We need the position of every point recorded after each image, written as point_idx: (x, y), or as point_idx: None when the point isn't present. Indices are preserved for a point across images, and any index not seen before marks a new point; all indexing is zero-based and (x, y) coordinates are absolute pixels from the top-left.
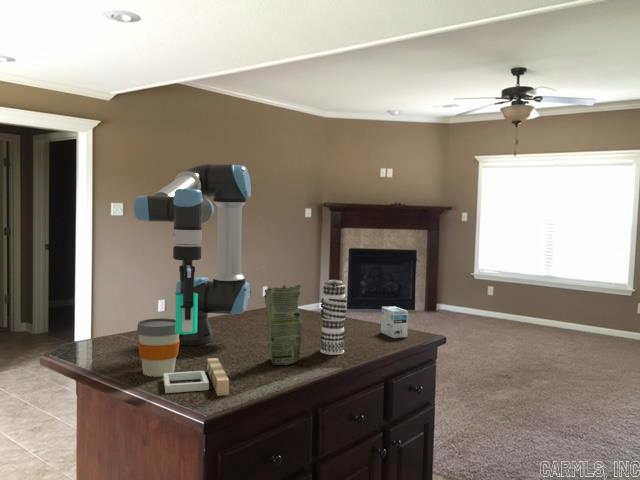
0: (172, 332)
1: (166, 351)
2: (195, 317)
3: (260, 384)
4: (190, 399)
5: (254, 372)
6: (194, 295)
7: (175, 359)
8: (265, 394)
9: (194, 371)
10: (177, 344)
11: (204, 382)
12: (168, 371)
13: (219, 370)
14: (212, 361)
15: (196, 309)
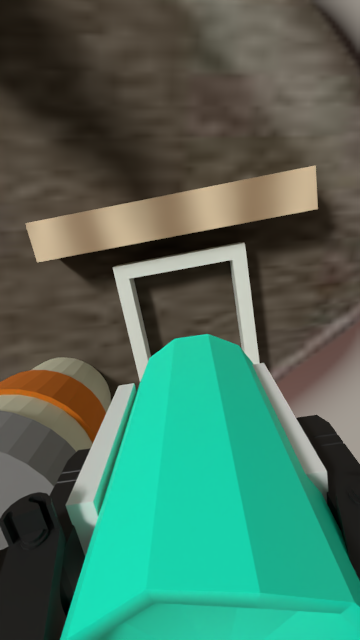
0: (53, 443)
1: (94, 414)
2: (249, 387)
3: (199, 54)
4: (315, 288)
5: (54, 77)
6: (336, 612)
7: (52, 370)
8: (311, 36)
9: (122, 298)
10: (43, 390)
11: (242, 257)
12: (93, 373)
13: (192, 208)
14: (75, 241)
15: (246, 419)
